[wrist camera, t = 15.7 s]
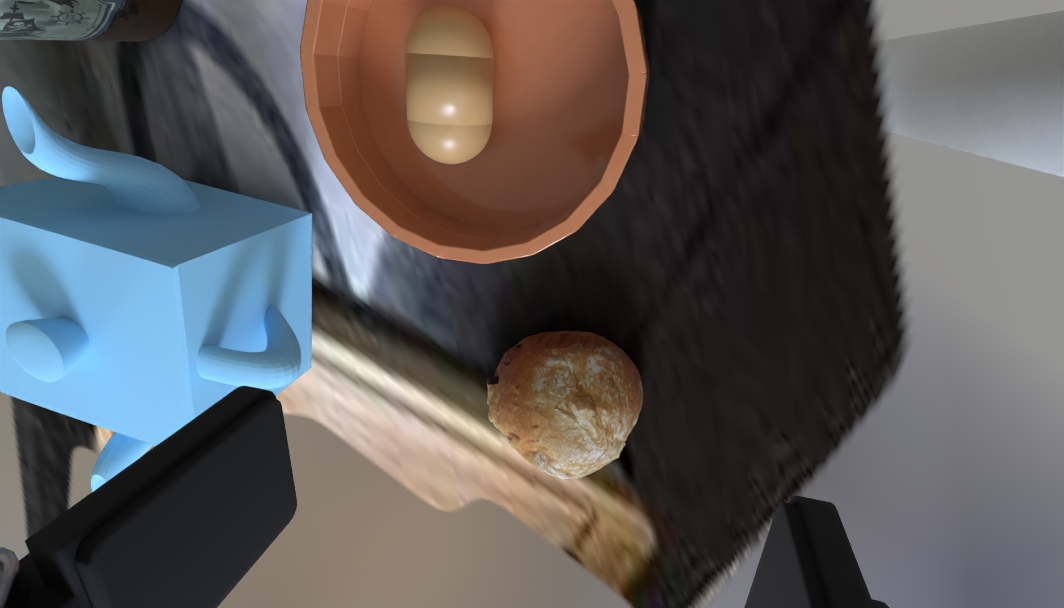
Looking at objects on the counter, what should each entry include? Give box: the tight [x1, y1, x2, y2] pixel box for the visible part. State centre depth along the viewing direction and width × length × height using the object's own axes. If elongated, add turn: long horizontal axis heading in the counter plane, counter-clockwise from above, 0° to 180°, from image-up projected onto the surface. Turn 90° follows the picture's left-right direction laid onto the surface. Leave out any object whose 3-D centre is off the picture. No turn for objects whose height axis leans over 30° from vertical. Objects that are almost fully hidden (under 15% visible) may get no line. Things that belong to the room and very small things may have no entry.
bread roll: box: [487, 331, 643, 479], centre depth 35 cm, size 10×10×8 cm
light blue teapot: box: [0, 87, 312, 492], centre depth 33 cm, size 19×19×15 cm
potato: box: [405, 5, 494, 164], centre depth 28 cm, size 8×5×5 cm
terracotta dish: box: [300, 0, 650, 264], centre depth 28 cm, size 18×18×5 cm
